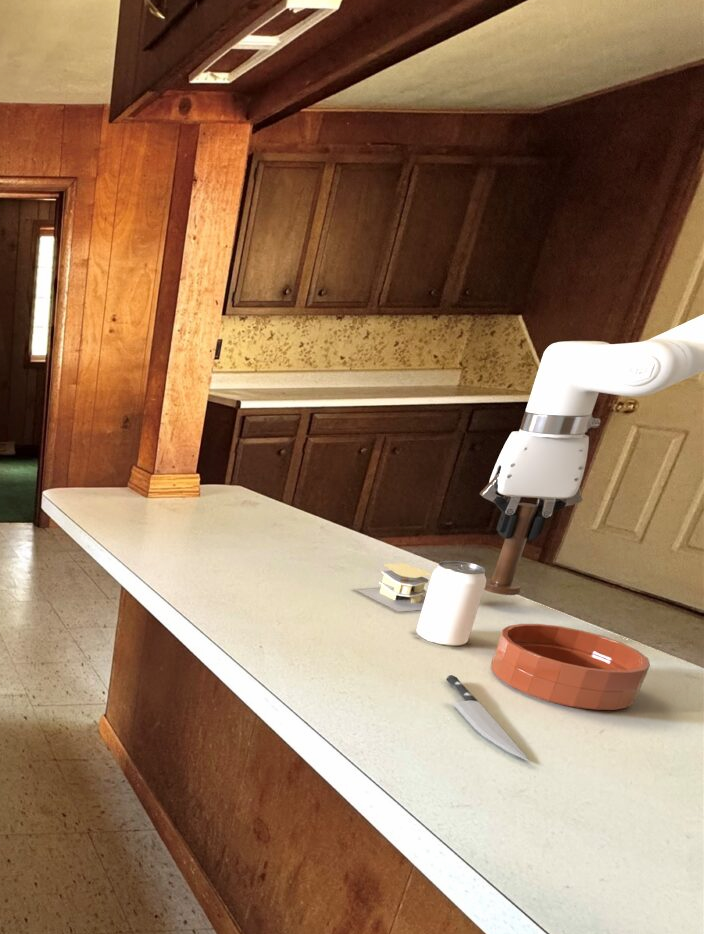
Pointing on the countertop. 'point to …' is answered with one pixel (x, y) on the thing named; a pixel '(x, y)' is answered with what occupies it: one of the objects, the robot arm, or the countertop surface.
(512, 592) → the brown post with base
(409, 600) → the stacked layers on plate
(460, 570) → the can
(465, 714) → the chef's knife
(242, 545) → the countertop surface
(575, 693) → the bowl
